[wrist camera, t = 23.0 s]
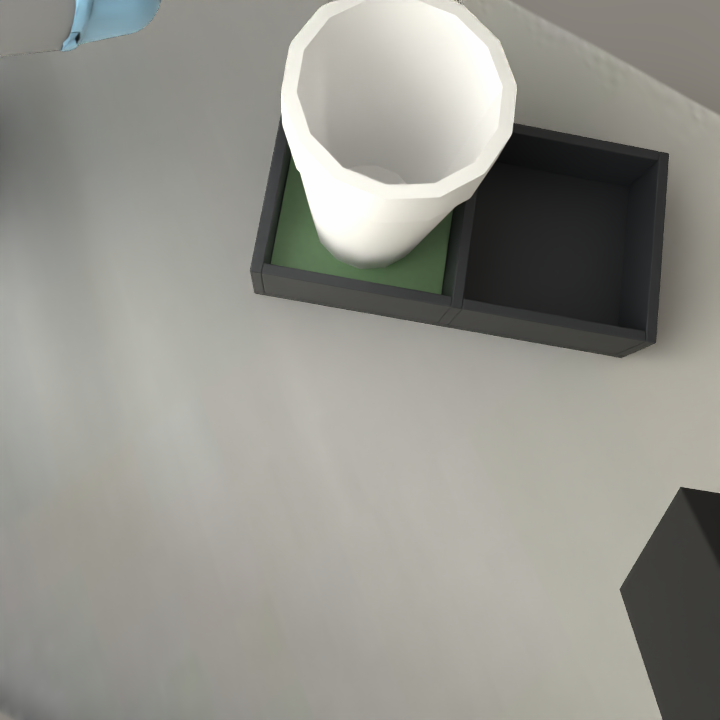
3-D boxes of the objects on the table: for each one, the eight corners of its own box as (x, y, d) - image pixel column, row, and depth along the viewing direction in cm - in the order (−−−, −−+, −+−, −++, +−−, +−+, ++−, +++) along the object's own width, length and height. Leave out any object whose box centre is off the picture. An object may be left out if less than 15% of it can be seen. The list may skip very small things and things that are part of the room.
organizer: (254, 293, 39) (249, 271, 35) (288, 117, 41) (288, 78, 38) (621, 357, 40) (656, 343, 37) (635, 184, 43) (669, 152, 39)
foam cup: (267, 163, 40) (254, 10, 27) (416, 126, 41) (470, -37, 29) (315, 315, 39) (324, 228, 26) (468, 271, 40) (548, 168, 27)
